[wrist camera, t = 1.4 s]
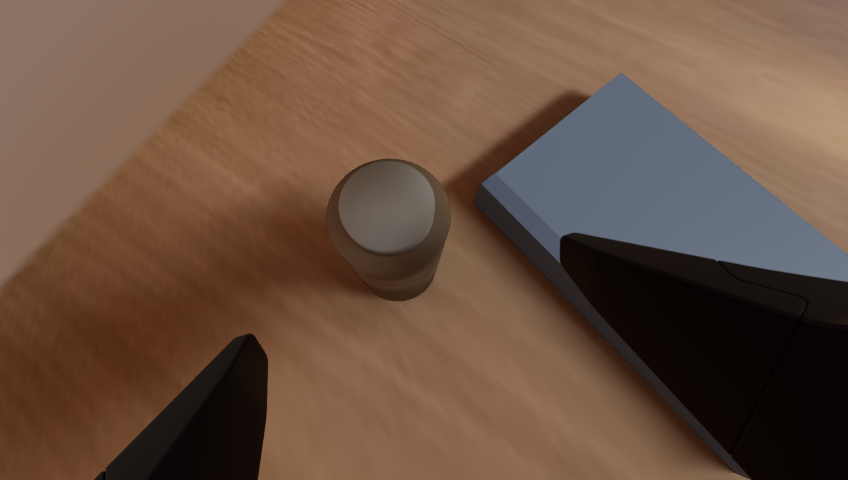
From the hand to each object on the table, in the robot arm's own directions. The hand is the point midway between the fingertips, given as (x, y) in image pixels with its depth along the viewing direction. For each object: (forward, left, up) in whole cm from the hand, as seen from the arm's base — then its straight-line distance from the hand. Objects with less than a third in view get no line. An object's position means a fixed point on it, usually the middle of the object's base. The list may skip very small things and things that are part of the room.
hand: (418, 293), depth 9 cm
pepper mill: (+1, +3, -12) cm, 13 cm away
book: (+15, -8, -12) cm, 21 cm away
